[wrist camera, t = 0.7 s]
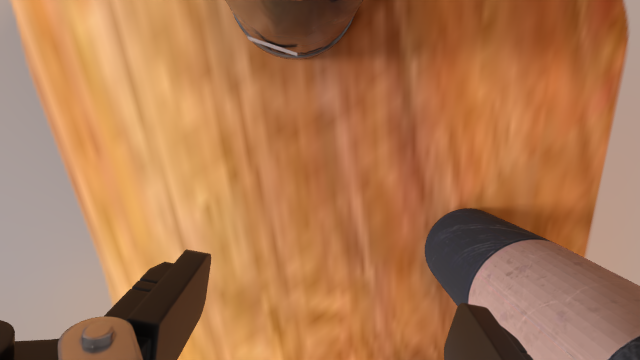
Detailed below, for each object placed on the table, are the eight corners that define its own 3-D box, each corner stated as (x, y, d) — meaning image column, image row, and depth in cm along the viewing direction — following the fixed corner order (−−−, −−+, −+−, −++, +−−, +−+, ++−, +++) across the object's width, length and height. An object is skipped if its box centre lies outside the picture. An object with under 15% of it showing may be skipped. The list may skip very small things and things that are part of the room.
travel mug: (426, 202, 30) (665, 361, 11) (513, 207, 31) (887, 366, 11) (416, 286, 32) (610, 565, 12) (499, 289, 32) (812, 560, 13)
